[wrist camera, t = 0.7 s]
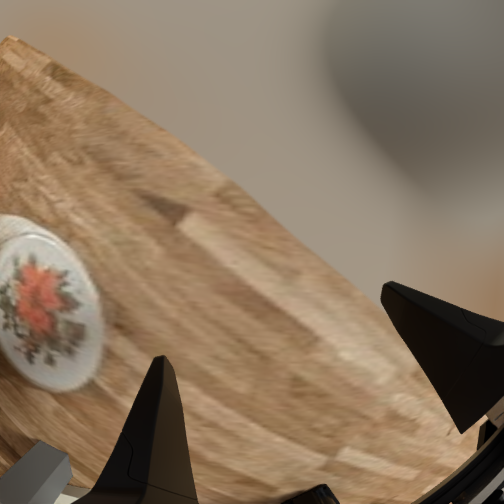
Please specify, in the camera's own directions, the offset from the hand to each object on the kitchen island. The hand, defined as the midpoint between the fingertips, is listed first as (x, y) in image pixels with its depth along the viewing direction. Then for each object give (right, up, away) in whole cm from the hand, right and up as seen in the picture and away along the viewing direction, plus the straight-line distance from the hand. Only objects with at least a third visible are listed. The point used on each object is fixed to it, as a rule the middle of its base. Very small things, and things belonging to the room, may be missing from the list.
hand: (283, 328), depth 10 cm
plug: (-26, -24, +9) cm, 37 cm away
